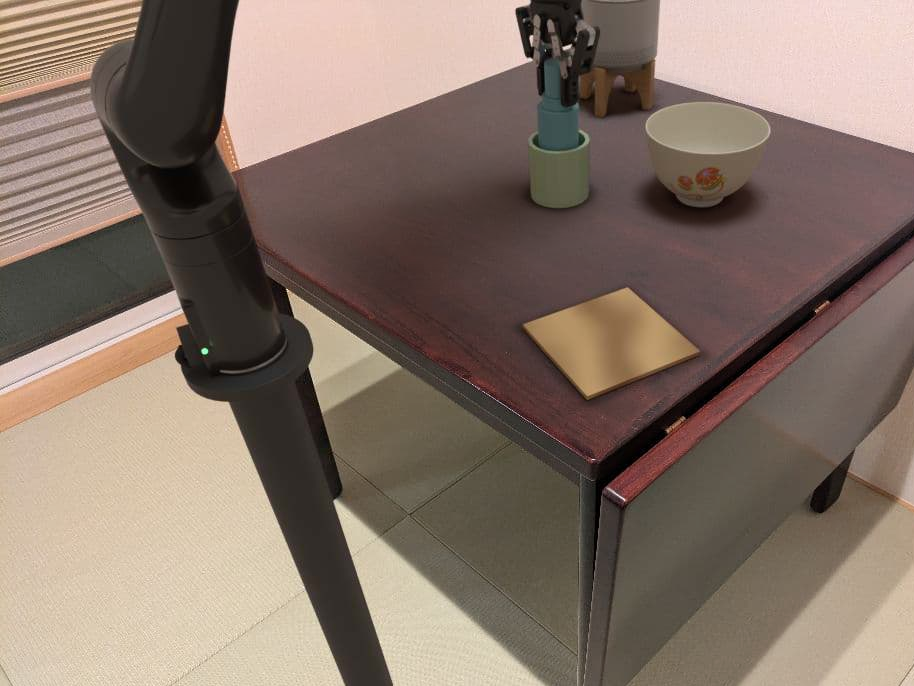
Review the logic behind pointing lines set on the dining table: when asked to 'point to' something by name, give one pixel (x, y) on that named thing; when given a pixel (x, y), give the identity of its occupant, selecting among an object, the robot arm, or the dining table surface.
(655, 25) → the planter
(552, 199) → the holder
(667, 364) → the cork mat
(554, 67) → the bottle
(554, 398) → the dining table surface
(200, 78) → the robot arm
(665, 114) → the bowl
